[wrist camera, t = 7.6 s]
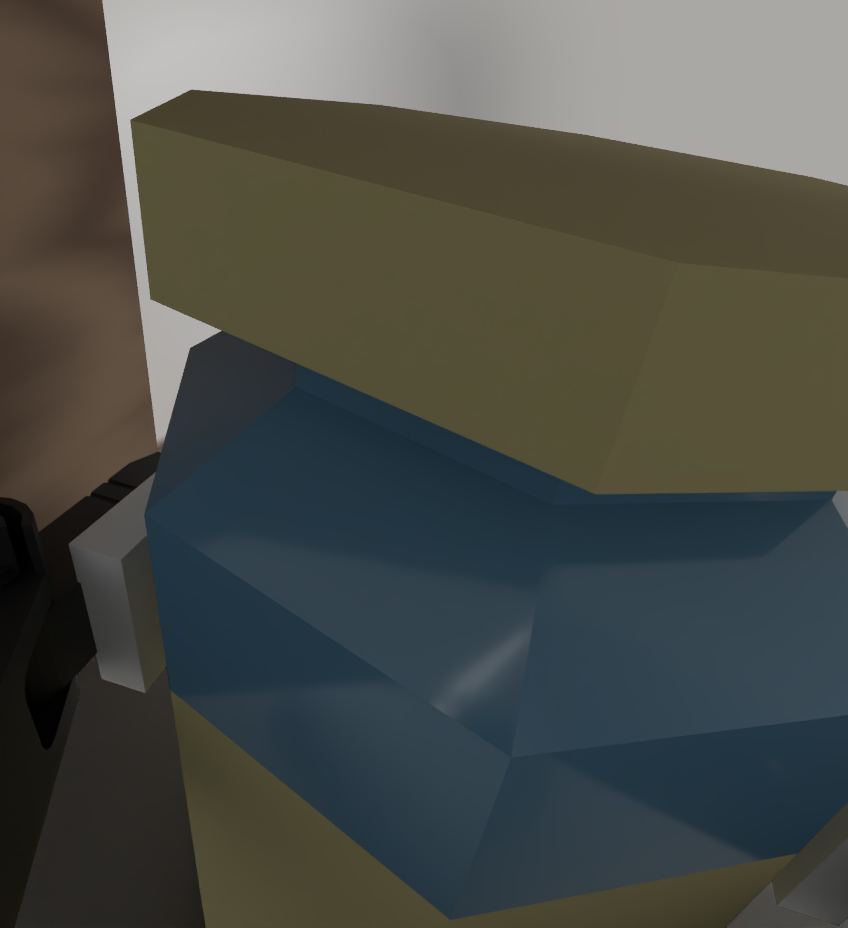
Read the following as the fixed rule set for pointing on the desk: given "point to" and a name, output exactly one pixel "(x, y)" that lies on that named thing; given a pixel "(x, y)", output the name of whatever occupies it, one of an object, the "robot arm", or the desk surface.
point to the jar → (495, 517)
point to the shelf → (65, 265)
